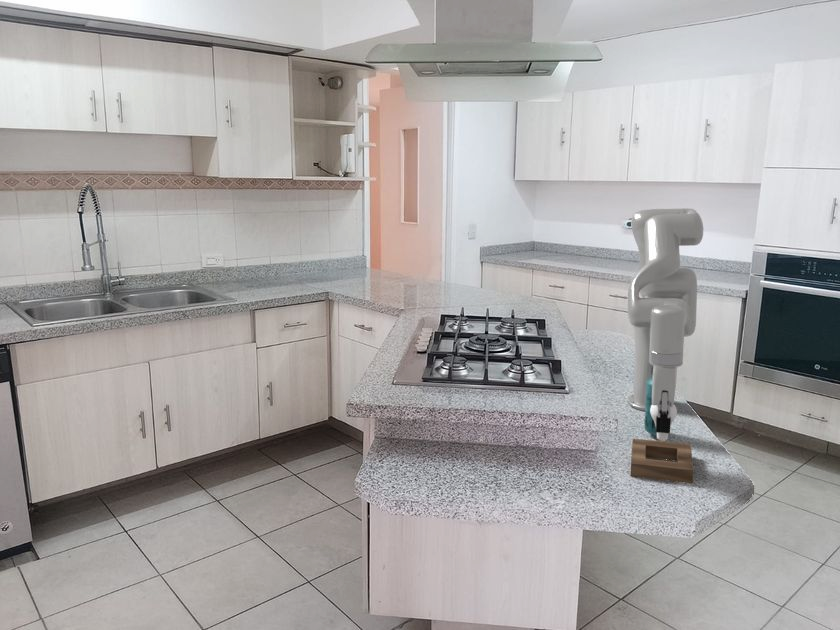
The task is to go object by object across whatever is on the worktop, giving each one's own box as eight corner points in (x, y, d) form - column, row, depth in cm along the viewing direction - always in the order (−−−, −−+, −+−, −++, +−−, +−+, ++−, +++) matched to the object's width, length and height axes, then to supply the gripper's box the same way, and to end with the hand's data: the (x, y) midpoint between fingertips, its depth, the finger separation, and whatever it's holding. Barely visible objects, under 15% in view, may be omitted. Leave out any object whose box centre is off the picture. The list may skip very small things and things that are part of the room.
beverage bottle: (648, 428, 180) (651, 361, 175) (672, 433, 176) (676, 365, 171) (640, 436, 175) (642, 368, 170) (664, 442, 171) (667, 372, 166)
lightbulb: (677, 438, 158) (679, 397, 155) (673, 448, 153) (675, 406, 150) (651, 433, 161) (653, 393, 158) (646, 443, 156) (648, 402, 153)
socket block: (632, 450, 168) (632, 438, 167) (689, 456, 163) (690, 444, 162) (630, 476, 155) (630, 463, 154) (692, 483, 150) (693, 470, 149)
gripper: (649, 345, 161) (646, 411, 165) (648, 367, 145) (646, 440, 150) (681, 347, 158) (677, 414, 163) (684, 370, 143) (680, 443, 147)
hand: (662, 426), depth 156 cm, fingers closed on lightbulb, 5 cm apart
